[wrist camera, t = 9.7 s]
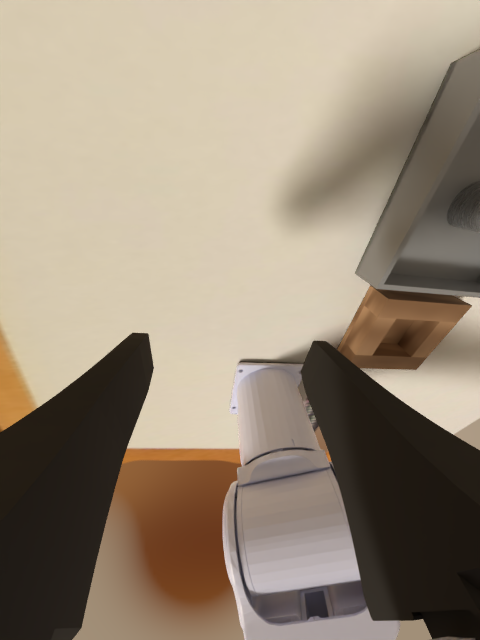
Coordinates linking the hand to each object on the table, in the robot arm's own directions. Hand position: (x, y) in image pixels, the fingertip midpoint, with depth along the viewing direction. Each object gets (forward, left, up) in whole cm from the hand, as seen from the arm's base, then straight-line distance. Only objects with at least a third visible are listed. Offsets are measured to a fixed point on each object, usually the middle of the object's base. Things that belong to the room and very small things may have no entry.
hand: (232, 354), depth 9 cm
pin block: (-4, -17, -9) cm, 20 cm away
